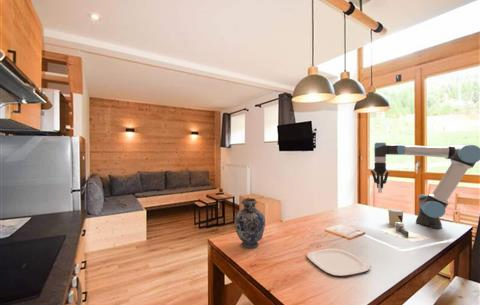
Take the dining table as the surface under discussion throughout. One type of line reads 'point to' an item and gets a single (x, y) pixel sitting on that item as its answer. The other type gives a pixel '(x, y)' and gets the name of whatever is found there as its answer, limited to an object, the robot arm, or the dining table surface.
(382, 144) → the robot arm
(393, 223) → the coffee cup
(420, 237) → the gauge board
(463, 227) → the dining table surface
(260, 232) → the decorative vase
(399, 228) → the dark grey lever
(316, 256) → the plate
